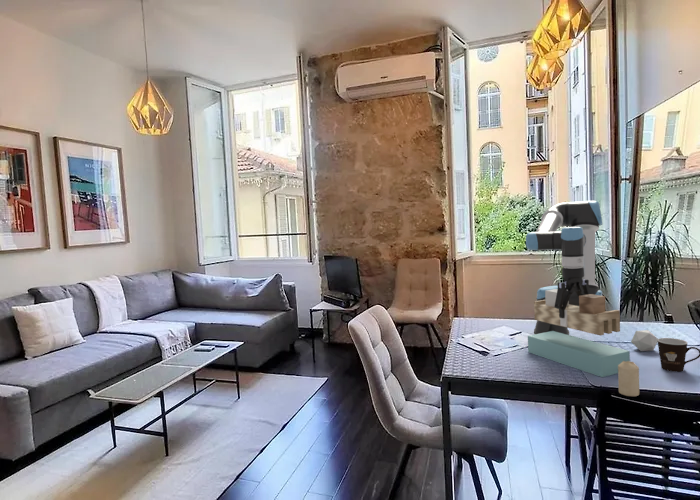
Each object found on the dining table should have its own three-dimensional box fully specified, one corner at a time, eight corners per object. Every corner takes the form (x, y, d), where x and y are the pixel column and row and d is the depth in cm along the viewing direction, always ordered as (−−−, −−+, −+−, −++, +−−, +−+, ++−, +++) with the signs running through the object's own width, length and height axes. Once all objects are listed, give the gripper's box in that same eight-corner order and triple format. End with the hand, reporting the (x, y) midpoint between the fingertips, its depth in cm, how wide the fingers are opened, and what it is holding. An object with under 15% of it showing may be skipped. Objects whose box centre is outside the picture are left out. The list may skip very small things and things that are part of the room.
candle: (631, 398, 133) (631, 366, 133) (614, 392, 138) (614, 361, 138) (643, 394, 135) (642, 362, 135) (626, 388, 140) (625, 358, 140)
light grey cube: (545, 305, 177) (545, 290, 176) (556, 303, 179) (556, 288, 179) (557, 307, 171) (557, 292, 171) (568, 305, 173) (568, 290, 173)
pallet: (534, 319, 180) (534, 301, 180) (552, 316, 184) (552, 298, 183) (600, 335, 152) (599, 314, 152) (620, 331, 156) (619, 310, 156)
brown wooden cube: (579, 311, 162) (579, 295, 162) (590, 309, 164) (590, 294, 164) (593, 314, 156) (593, 298, 156) (605, 312, 159) (605, 296, 158)
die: (658, 355, 171) (665, 334, 173) (636, 345, 172) (644, 323, 175) (644, 357, 179) (651, 336, 181) (624, 347, 180) (631, 326, 182)
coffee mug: (652, 367, 157) (651, 340, 156) (667, 363, 160) (666, 336, 160) (687, 377, 146) (687, 348, 146) (703, 372, 150) (702, 344, 149)
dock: (528, 352, 182) (527, 335, 182) (553, 346, 187) (552, 330, 187) (602, 377, 151) (601, 357, 150) (629, 370, 156) (629, 350, 156)
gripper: (558, 270, 159) (560, 330, 160) (602, 265, 167) (603, 321, 169) (542, 269, 166) (544, 326, 167) (585, 263, 174) (586, 318, 176)
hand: (574, 324), depth 168 cm, fingers closed on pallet, 10 cm apart
